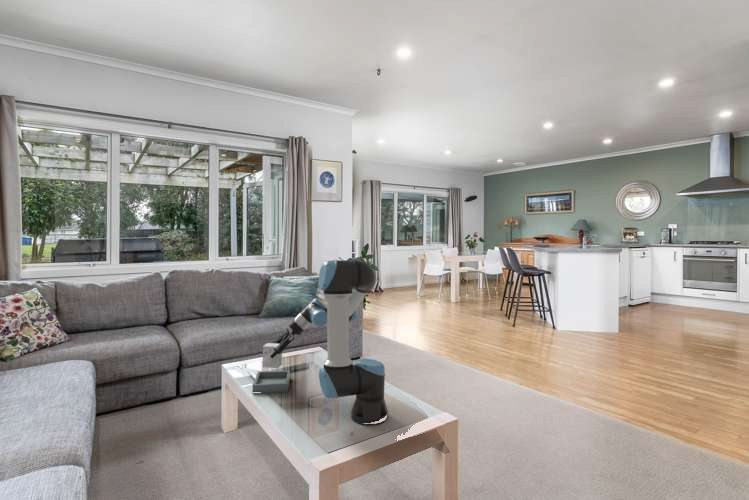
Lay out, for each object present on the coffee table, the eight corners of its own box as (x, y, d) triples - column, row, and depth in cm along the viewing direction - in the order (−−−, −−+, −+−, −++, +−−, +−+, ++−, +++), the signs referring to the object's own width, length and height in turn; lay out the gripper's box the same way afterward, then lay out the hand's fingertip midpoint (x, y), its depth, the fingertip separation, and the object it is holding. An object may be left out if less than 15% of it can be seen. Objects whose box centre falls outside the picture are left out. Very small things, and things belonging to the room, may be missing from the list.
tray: (287, 392, 185) (287, 384, 185) (252, 393, 183) (252, 385, 183) (289, 378, 203) (290, 370, 203) (257, 379, 201) (258, 371, 200)
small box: (282, 364, 195) (282, 343, 195) (278, 368, 190) (278, 346, 189) (266, 363, 196) (266, 342, 196) (262, 367, 191) (262, 346, 190)
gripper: (307, 335, 187) (272, 371, 183) (301, 324, 207) (269, 357, 203) (296, 324, 185) (260, 361, 181) (291, 315, 205) (258, 347, 201)
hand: (265, 359), depth 192 cm, fingers closed on small box, 8 cm apart
